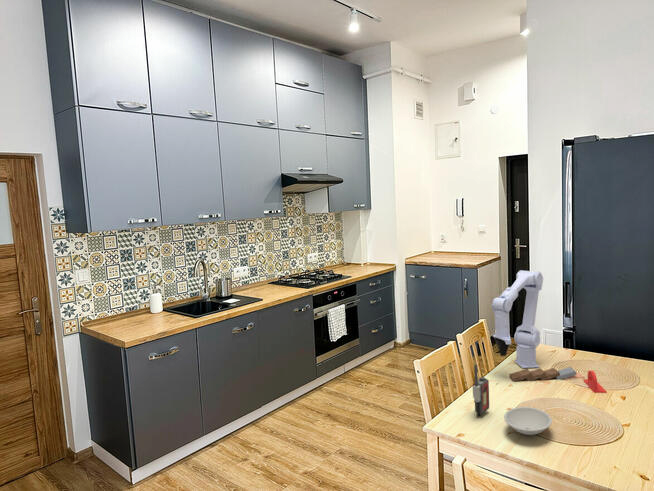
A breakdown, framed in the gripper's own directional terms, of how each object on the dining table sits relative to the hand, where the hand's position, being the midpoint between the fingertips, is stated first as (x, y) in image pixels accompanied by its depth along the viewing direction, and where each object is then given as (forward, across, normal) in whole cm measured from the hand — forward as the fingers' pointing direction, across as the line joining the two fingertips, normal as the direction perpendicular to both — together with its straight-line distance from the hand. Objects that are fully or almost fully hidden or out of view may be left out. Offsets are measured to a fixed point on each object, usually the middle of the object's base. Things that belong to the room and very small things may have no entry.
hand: (503, 355), depth 194 cm
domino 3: (+10, +2, +24) cm, 26 cm away
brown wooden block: (+10, +2, +3) cm, 10 cm away
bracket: (+11, +13, +32) cm, 36 cm away
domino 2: (+10, +2, +14) cm, 17 cm away
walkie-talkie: (+10, +32, -20) cm, 39 cm away
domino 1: (+10, +2, +8) cm, 13 cm away
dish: (+10, +46, -8) cm, 48 cm away
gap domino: (+10, +2, +21) cm, 23 cm away
